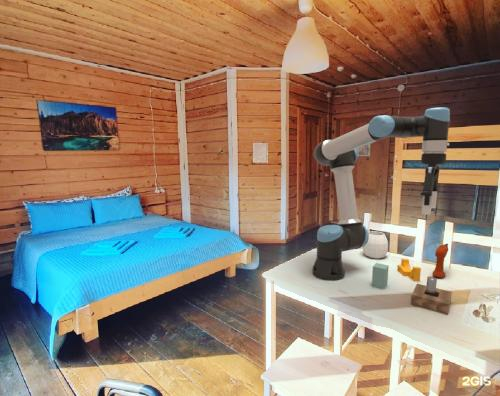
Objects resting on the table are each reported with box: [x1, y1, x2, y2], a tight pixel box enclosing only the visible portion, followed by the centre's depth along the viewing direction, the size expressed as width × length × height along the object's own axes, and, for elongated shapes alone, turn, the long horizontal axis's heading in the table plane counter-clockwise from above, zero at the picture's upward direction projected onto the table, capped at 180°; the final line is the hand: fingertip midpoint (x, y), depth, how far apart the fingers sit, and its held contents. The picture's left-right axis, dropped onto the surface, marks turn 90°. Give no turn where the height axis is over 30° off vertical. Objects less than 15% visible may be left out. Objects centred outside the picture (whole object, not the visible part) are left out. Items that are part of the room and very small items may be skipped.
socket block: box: [410, 283, 453, 315], centre depth 113 cm, size 12×12×4 cm
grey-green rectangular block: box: [371, 262, 389, 290], centre depth 128 cm, size 5×5×9 cm
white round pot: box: [362, 230, 389, 260], centre depth 163 cm, size 13×13×14 cm
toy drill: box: [432, 243, 449, 279], centre depth 140 cm, size 5×19×15 cm, turn 137°
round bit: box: [425, 276, 438, 296], centre depth 113 cm, size 3×3×10 cm
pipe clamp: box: [396, 258, 422, 282], centre depth 137 cm, size 12×4×6 cm, turn 0°
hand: (428, 211), depth 107 cm, fingers open, 13 cm apart
